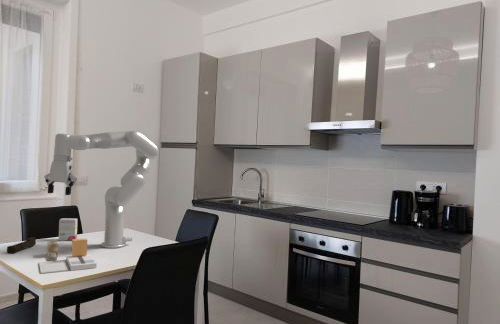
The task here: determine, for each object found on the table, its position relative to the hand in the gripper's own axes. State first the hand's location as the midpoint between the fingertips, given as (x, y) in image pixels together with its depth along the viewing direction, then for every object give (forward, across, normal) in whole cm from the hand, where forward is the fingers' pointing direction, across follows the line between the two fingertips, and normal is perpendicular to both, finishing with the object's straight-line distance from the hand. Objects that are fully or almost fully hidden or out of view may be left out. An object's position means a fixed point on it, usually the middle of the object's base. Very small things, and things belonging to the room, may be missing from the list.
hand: (59, 194), depth 184 cm
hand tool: (+29, +18, 0) cm, 35 cm away
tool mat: (+29, -16, +20) cm, 38 cm away
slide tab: (+26, -19, +7) cm, 33 cm away
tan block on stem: (+29, -5, +8) cm, 30 cm away
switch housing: (+28, -23, +12) cm, 38 cm away
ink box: (+28, +12, -26) cm, 40 cm away
